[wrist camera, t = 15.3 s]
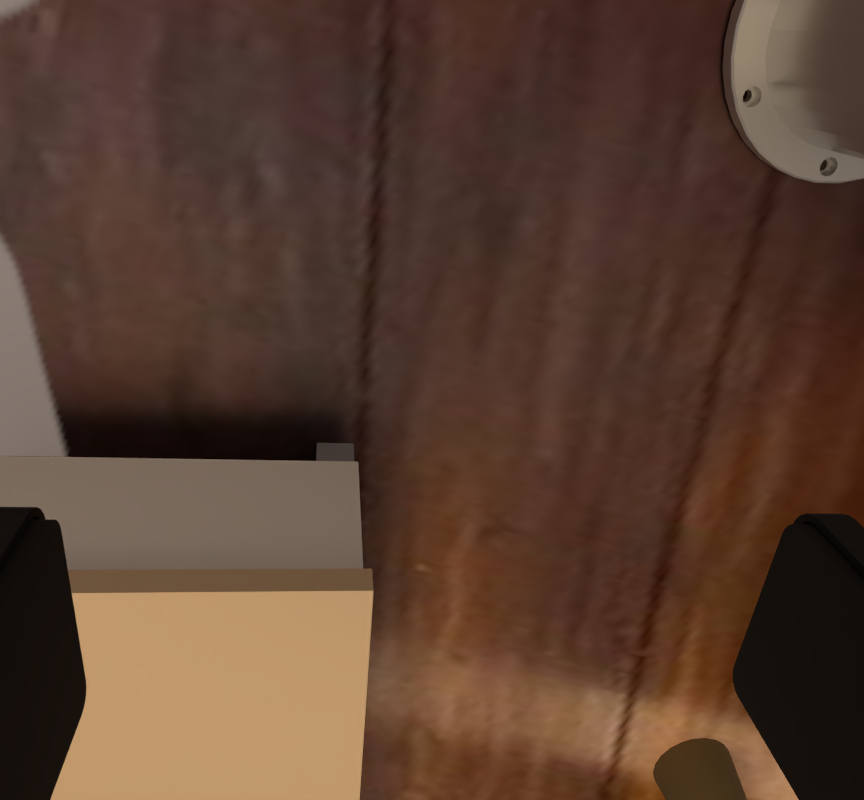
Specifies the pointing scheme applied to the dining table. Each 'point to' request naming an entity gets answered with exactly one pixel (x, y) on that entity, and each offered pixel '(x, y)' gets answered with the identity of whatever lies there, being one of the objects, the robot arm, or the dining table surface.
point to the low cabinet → (212, 623)
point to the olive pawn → (698, 772)
